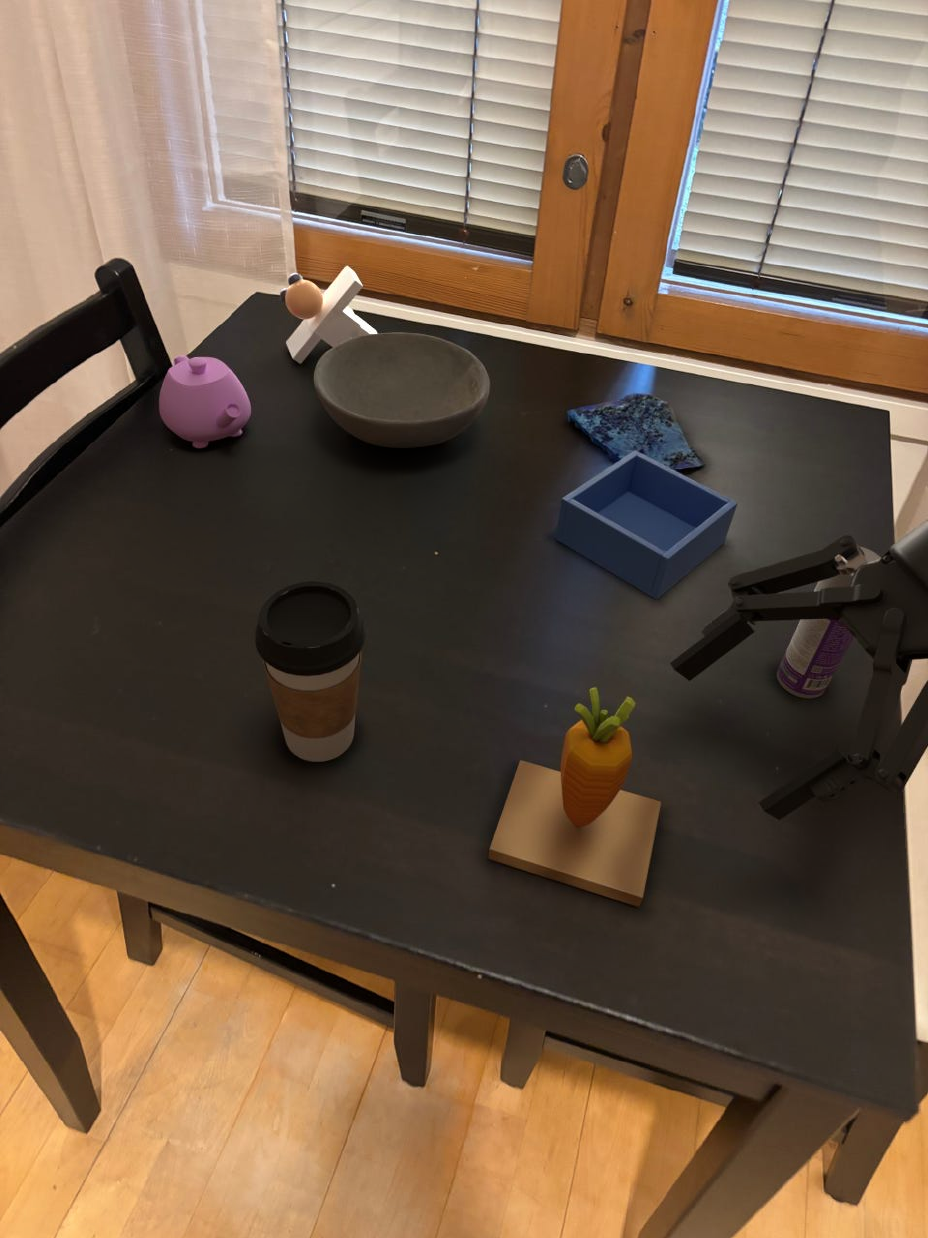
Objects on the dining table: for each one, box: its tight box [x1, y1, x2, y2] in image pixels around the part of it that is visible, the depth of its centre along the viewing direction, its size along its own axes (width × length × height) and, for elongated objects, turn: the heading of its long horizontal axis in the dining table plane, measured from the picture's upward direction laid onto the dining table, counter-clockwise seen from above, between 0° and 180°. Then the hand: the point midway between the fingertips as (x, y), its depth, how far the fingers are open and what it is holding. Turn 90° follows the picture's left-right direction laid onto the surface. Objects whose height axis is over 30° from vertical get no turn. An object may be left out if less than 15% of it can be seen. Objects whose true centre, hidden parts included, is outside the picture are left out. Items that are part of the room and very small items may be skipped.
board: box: [487, 759, 662, 908], centre depth 70 cm, size 12×9×2 cm
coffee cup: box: [254, 580, 366, 763], centre depth 71 cm, size 8×8×15 cm
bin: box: [554, 451, 739, 600], centre depth 96 cm, size 14×14×6 cm
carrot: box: [560, 686, 636, 827], centre depth 65 cm, size 5×5×15 cm
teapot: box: [158, 354, 252, 449], centre depth 105 cm, size 10×15×9 cm
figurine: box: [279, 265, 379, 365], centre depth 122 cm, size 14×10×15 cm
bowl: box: [313, 332, 491, 449], centre depth 109 cm, size 21×21×8 cm
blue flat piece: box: [566, 392, 706, 471], centre depth 112 cm, size 15×17×2 cm
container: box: [776, 546, 882, 699], centre depth 79 cm, size 5×5×15 cm
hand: (720, 737), depth 67 cm, fingers open, 13 cm apart
